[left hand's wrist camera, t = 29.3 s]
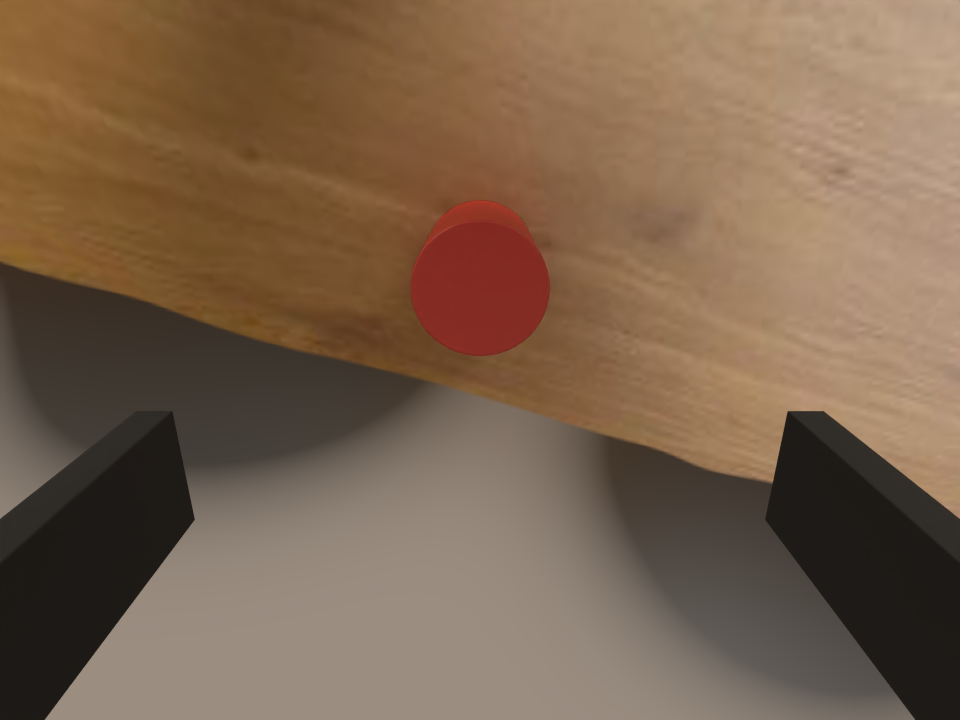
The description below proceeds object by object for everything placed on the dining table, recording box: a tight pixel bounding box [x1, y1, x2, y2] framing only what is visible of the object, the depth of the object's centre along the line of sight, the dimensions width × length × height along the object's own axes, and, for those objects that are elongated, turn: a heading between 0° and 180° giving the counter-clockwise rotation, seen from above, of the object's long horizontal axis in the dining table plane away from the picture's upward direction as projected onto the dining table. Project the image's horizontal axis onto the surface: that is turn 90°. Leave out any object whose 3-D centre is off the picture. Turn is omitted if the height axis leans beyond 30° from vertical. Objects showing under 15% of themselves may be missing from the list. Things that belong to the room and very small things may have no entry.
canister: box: [411, 200, 550, 356], centre depth 32 cm, size 7×7×9 cm
